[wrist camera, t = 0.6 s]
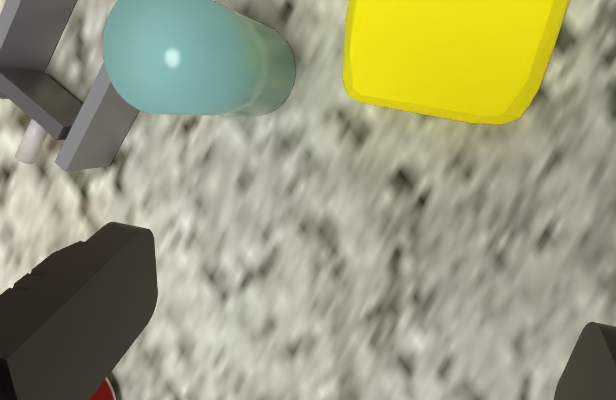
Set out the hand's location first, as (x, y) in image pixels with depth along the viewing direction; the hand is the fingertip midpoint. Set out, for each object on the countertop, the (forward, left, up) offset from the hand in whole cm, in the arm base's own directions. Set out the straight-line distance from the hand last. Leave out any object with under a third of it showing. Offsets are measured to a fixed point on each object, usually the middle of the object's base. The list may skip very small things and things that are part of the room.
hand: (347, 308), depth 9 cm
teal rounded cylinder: (+1, -13, -20) cm, 24 cm away
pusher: (+12, -23, -20) cm, 33 cm away
